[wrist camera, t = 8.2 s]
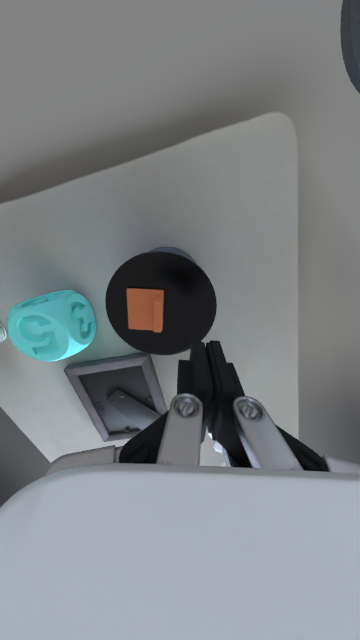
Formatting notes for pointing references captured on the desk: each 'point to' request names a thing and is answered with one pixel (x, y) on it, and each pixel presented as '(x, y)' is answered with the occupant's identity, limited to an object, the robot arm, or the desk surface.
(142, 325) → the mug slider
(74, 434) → the desk surface
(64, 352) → the decorative dice
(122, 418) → the picture frame
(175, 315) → the travel mug
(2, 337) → the pill bottle
